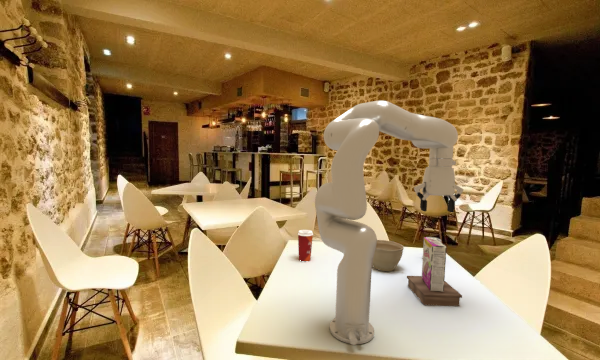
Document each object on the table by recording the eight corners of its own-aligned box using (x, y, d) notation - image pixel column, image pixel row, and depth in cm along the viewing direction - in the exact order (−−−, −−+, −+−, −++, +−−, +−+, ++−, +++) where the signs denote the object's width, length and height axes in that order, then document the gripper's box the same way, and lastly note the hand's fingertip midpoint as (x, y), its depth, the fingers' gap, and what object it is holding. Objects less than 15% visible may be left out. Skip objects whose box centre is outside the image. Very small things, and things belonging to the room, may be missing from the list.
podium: (461, 306, 100) (462, 295, 100) (423, 305, 100) (424, 294, 100) (438, 286, 116) (439, 276, 116) (406, 285, 116) (406, 275, 116)
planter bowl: (407, 275, 126) (408, 250, 125) (369, 274, 127) (370, 249, 126) (395, 262, 142) (397, 240, 142) (362, 260, 143) (363, 239, 142)
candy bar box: (420, 278, 113) (423, 236, 112) (434, 279, 113) (436, 237, 111) (429, 291, 102) (432, 245, 101) (444, 292, 102) (447, 246, 100)
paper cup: (312, 262, 138) (313, 233, 137) (296, 262, 138) (297, 233, 137) (312, 257, 146) (313, 229, 145) (296, 256, 146) (297, 229, 145)
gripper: (458, 164, 108) (455, 210, 109) (412, 162, 108) (409, 208, 109) (470, 164, 101) (466, 214, 102) (420, 163, 101) (417, 212, 102)
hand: (437, 211), depth 106 cm, fingers open, 9 cm apart
